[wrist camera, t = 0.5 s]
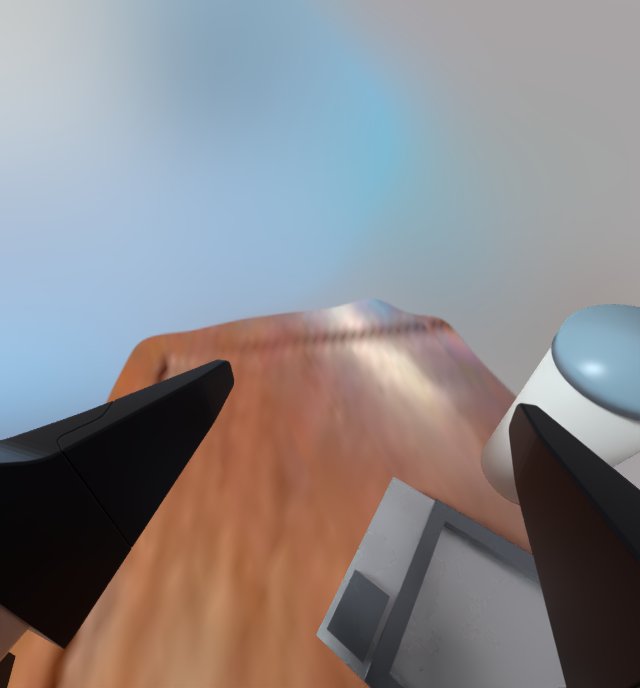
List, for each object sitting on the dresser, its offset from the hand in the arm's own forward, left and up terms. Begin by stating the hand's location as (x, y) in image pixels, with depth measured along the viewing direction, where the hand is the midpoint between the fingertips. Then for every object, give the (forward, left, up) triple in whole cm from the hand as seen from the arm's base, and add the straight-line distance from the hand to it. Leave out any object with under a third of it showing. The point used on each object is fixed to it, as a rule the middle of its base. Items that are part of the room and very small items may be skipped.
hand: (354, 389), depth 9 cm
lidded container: (+2, -11, -16) cm, 19 cm away
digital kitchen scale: (-6, -5, -16) cm, 18 cm away
